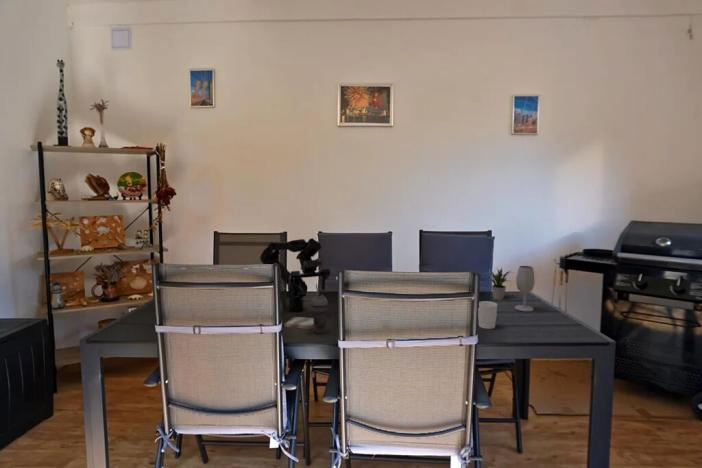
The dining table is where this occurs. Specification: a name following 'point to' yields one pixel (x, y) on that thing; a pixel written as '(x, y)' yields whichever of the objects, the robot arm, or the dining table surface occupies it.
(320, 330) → the beverage cup
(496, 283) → the house plant
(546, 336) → the dining table surface
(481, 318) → the white cup
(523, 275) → the wineglass
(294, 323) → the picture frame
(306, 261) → the robot arm
